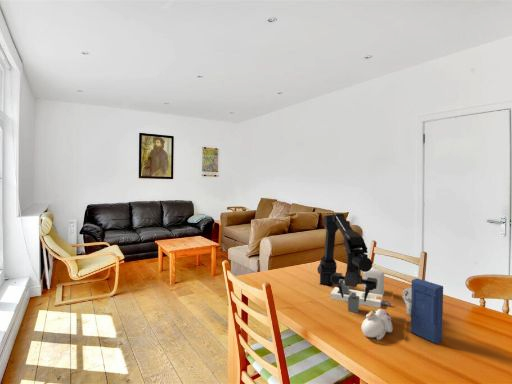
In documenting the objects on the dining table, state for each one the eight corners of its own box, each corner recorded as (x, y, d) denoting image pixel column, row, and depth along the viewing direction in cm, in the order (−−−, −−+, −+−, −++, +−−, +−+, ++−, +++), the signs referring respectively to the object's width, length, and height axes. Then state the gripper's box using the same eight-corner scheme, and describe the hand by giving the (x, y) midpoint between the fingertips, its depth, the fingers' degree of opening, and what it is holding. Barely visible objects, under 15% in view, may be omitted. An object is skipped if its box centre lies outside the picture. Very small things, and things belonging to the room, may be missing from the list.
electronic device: (443, 340, 103) (444, 285, 102) (435, 344, 100) (436, 288, 99) (417, 328, 111) (418, 277, 110) (409, 332, 108) (410, 280, 107)
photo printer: (361, 290, 149) (362, 267, 148) (366, 288, 151) (366, 265, 151) (381, 296, 141) (381, 271, 140) (385, 294, 143) (385, 270, 143)
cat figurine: (366, 316, 102) (388, 300, 111) (350, 319, 108) (372, 304, 117) (380, 344, 99) (402, 325, 108) (363, 346, 105) (385, 328, 114)
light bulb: (418, 313, 123) (419, 285, 123) (422, 321, 117) (422, 292, 116) (400, 311, 126) (401, 284, 125) (403, 318, 119) (403, 290, 118)
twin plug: (339, 298, 138) (339, 282, 138) (341, 294, 142) (341, 279, 142) (347, 299, 136) (347, 283, 136) (349, 296, 140) (349, 281, 140)
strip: (330, 299, 138) (330, 292, 138) (335, 293, 146) (335, 285, 146) (390, 311, 125) (390, 302, 125) (391, 303, 133) (391, 295, 133)
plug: (348, 311, 125) (348, 294, 124) (349, 307, 128) (349, 291, 128) (357, 313, 123) (357, 296, 122) (359, 309, 126) (359, 292, 126)
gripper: (327, 266, 122) (327, 302, 123) (374, 273, 113) (374, 311, 114) (333, 259, 132) (333, 293, 133) (377, 265, 123) (377, 301, 124)
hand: (353, 299), depth 125 cm, fingers open, 9 cm apart
